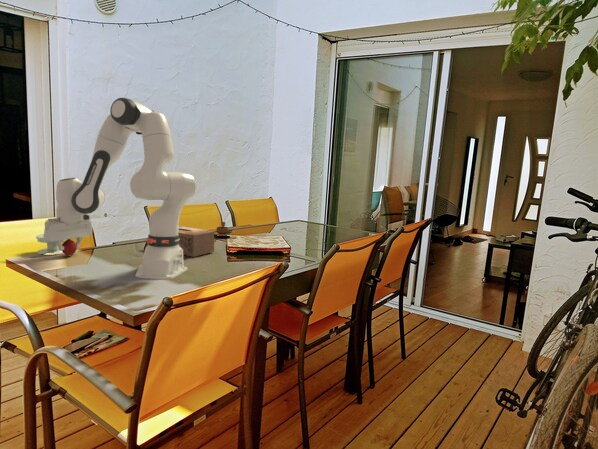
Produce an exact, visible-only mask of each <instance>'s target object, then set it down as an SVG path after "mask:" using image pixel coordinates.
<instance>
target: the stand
mask: <svg viewBox="0 0 598 449" xmlns="http://www.w3.org/2000/svg"><path fill="white" fill-rule="evenodd" d="M35 239H36V240H37V242H38V243H42V244H44V243H45V244H46V247H45V248H43V249H39V250H37V255H39V254H46V253H54V252H62V251H59V250H58V245H57V244H56V241H53V242H49V241H46V240H45V239H44V233H43V234H41V233H40V234H39V235H36V238H35ZM66 240H67V239H66ZM66 240H62V243H64V242H65V241H66Z"/></svg>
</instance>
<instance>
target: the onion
mask: <svg viewBox="0 0 598 449" xmlns="http://www.w3.org/2000/svg"><path fill="white" fill-rule="evenodd" d="M61 244H62V246H64V250H63V251H62V252H63V253H64V254H63V255H65V256H67V255H71V256H72V255H74V254H75V253H76V251H77V250H78V248H77V246H76V241H74V240H72V239H67V240H66V241H64V242H62V243H61Z"/></svg>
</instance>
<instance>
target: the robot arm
mask: <svg viewBox="0 0 598 449" xmlns="http://www.w3.org/2000/svg"><path fill="white" fill-rule="evenodd" d="M110 106H111V107H110V109H109V110H110V112H109V113H110V114H109V115H107V116H106V118H105V120H104V121H103V123H102V125H101V127H100V129H99V132H98V135H97V138H96V141H95V144H94V149H93V154H92V157H91V161H90V164H89V166H88V169H87V171H86V174H85V176H84V179H83V181H81V180H80V179H79V178H77V177H70V178H69V177H68V178H62V179H60V180H59V181H57V184H56V191H55V194H56V195H55V199H56V203H57V205H56V209H55V210H56V217H54V218H53V217H52V218H48V219H47V220H45V222H44V229H43V230H44V232H43V234H44V239H45V240H46V241H49V242H53V241H56V244H57V245H58V250H59V251H63V250H64V246H62V244H63V242H62V240H66V239H71V240H72V239H76V241H75V243H76V246H77V249H79V248H81V246H80V245H81V243H82V241H83V238H84V237H85V238H86V237H90V236H92V234H93V224H92V221H91V219H92V215H91V214H92V213H94V212H95V211H96V210H97V209H99V208H100V207H102V206H103V205H104V203H105V200H106V197H105V193H104V192H103V190H102V189H101V185H102V183H103V181H104V178H105V176H106V174H107V171H108V170H109V168H111V167H112V165H114V163H116V162H117V161H118V160H119V159H120V158H121V156H122V154H123V152H124V151H125V148H126V145H127V143H128V142H127V141H128V139H129V137H130V136H131V134H133V133H135V134H137V136H138V135H141V136H142V137H141V138H142V144H143V155H144V158H143V159H144V160H143V164H142V166H141V168H140V169H139V170H138V171H137V172H135V173H134V175H132V177H131V179H130V181H129V188H130V192H131V193H132V195H133V196H134V197H135V198H136V199H140V200H147V201H163V202H162V204H161V206H160V207H159V208H157V209H155V210H153V211H151V212H152V213H151V214H150V215H149V219H148V220H149V221H148V223H149V229H148V230H149V232H148V235H147V238H146V243H147V246H146V247H145V250H144V254H143V257H142V259H141V261H142V262H141V264H140V265H139V266H138V269H137V271H136V273H135V277H136V278H140V279H148V280H172V279H173V280H174V278H176V277H178V276H180V275H182V274H183V273H185V272H187V271H188V267H187V266H185V265H184V255H183V249H182V248H181V247H180V246H179V240H180V238H179V234H178V228H179V226H180V225H179V224H180V216H181V212H182V210H183V208H184V206H185V205H186V203H187V202H188V201H189V200H190V199H191V198H192V197H193V196H194V195H195V194H196V191H197V188H198V187H197V182H196V179H195V177H194V176H193V175H192V174H189V173H185V172H181V171H164V167H163V166H166V165H167V164H169V163H170V162H172V160H173V159H174V157H175V150H174V144H173V138H172V133H171V129H170V124H169V123H168V120H167V117H166V116H165V115H164V114H163V113H161V112H158V111H154V110H152V109H150V108H148V107H147V106H145V105H143V104H141V103H140V102H137V101H135V100H132V99H130V98H127V97H118V98H116V99H115V100H113V102H112V104H111V105H110Z"/></svg>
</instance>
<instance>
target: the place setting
mask: <svg viewBox="0 0 598 449" xmlns="http://www.w3.org/2000/svg"><path fill="white" fill-rule="evenodd" d="M220 223H221V225H220V226H217V227H216V231H214V232H217V233H218V234H215V233H214V235H219V236H226V235H229V234H227V233H228V232H229V233H232V235H233V232H232V231H229V227H228V226H226V221H221V222H220Z"/></svg>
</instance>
